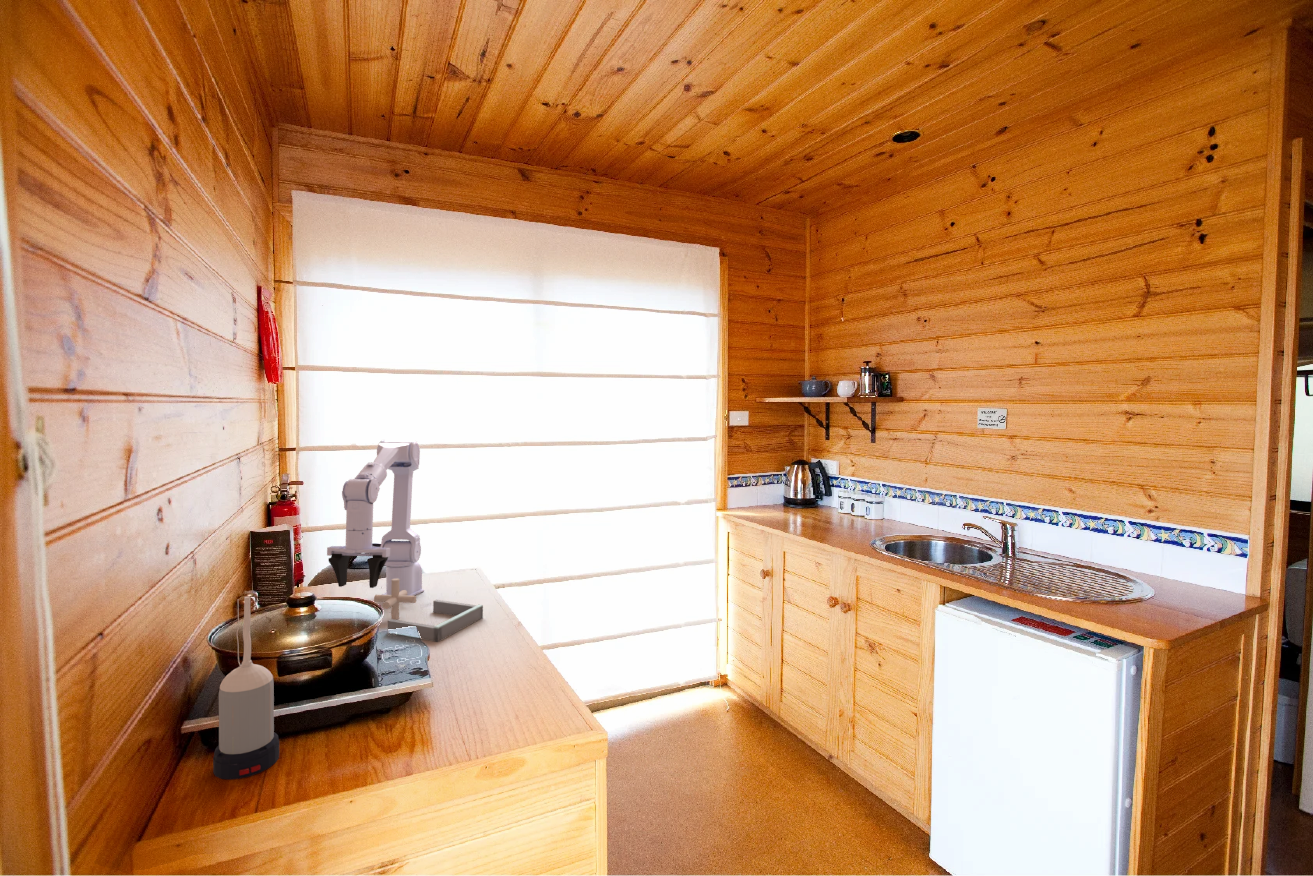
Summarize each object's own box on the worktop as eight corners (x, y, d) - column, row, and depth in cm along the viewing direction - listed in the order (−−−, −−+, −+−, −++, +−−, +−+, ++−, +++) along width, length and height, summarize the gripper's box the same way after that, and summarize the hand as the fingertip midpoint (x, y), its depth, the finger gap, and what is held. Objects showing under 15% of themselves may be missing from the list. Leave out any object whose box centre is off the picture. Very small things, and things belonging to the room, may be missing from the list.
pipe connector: (406, 626, 148) (406, 585, 147) (365, 625, 148) (365, 584, 147) (423, 612, 158) (423, 574, 157) (385, 611, 158) (385, 573, 157)
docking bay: (387, 633, 143) (387, 619, 143) (436, 610, 159) (436, 598, 159) (438, 641, 138) (438, 627, 138) (482, 617, 155) (482, 605, 155)
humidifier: (243, 784, 85) (242, 608, 84) (199, 773, 87) (197, 601, 86) (292, 753, 93) (292, 591, 92) (250, 744, 95) (250, 586, 94)
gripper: (319, 530, 141) (318, 589, 141) (380, 532, 140) (378, 591, 140) (337, 526, 148) (335, 582, 148) (395, 528, 147) (393, 584, 147)
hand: (357, 586), depth 145 cm, fingers open, 7 cm apart
